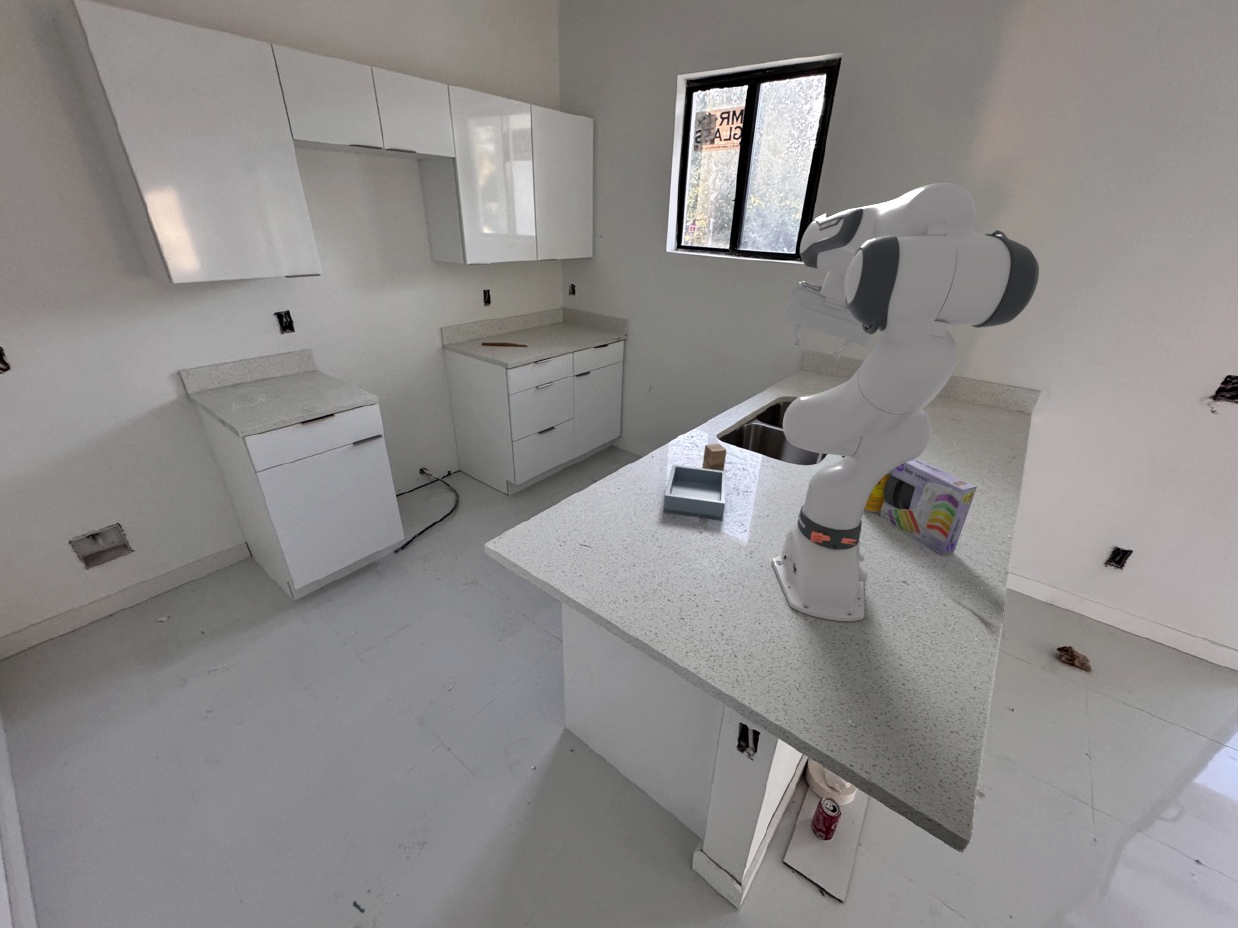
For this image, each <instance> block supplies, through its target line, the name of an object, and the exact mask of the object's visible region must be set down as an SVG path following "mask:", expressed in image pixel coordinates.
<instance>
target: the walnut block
mask: <svg viewBox="0 0 1238 928" xmlns="http://www.w3.org/2000/svg"><path fill="white" fill-rule="evenodd" d="M726 456H727V449H726V448H725V447H724V446H723V445H721V443H713V444H704V453H703V459H702V468H703V469H711V470H719V471H725V465H726V464H725V463H726Z"/></svg>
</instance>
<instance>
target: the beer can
mask: <svg viewBox="0 0 1238 928" xmlns="http://www.w3.org/2000/svg"><path fill="white" fill-rule="evenodd" d="M892 471H893V470H892ZM892 471H890V472H889V473H888V474H886V475H885V476H884V477H883V478H882V479H881V480H880V481H879V482H878V483H877V485H876V486H875V487H874V489H873V490H872V492H871V494H870V496H869V499H868V501H867V503H866V506H865V509H864V511H865V512H867V513H872V514H876V513H878V512H879V511H880V512H881V511H882V508H883V504H884V501H885V500H884V489H885V485H886V482H887V480H888V479H889V477H890V476H891V475H892Z"/></svg>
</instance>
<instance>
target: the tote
mask: <svg viewBox="0 0 1238 928" xmlns="http://www.w3.org/2000/svg"><path fill="white" fill-rule="evenodd" d="M668 478H669V479H668V480H667V481H668V482H667V485H666V489H665V494H664V501H663V511H662V512H663V513H666V514H673V515H681V516H682V515H683V516H689V517H695V518H703V519H709V520H717V521H723V520H724V519H723V518H724V512H725V505H726V488H727V487H726V485H727V471H725V470H724V471H719V470H711V469H703V468H701V467H694V466H685V465H679V464H678V465H677V464H672V466H671V470H670V474H669V477H668Z"/></svg>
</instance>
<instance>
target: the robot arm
mask: <svg viewBox="0 0 1238 928" xmlns="http://www.w3.org/2000/svg"><path fill="white" fill-rule="evenodd" d="M976 214H977V208H976V203H975V201H974V198H973V196H972V195H971V193H970V192H969V191H968V190H967V189H966V188H964V187H962V186H961V185H960V184H955V183H951V182H939V183H938V182H937V183H930V184H927V185H923V186H920V187H917V188H915V189H912V190H910V191H908V192H906V193H904V194H903V195H901V196H899V197H897V198H894V199H892V200H888V201H886V202H880V203H877V204H876V203H875V204H870V205H866V206H862V207H861V206H860V207H854V208H849V209H847V210H843V211H840V212H838V213H836V214H833V215H832V214H829V213H824V214H822V215H819V216H818V217H816V218H814V220H812V221H811V222H810V224H809V225H808V226H807V228H806V230H805V232H804V233H803V235H802V238H801V241H800V246H799V256H800V258H801V260H802V262H803V264H804V266H805V267H809V268H812V269H813V268H814V269H817V270H818V269H819V270H823V271H827V273H826V276H825V278H824V281H823V282H822V285H818V284H815V283H810V282H808V281H800V282H797V283H795V284H794V285H793V286H792V289H791V291H790V300H789V301H788V303H787V305H786V306H785V310H784V311H783V314H782V318H783V320H784V321H786V322H789V323H792V324H794V327H793V332H794V337H795V338H794V340H793V343H792V345H794V346H796V347H800V345H801V342H802V340H803V338H802V337H800V333H799V332H800V331H801V330H802V328H803V327H804V328H808V329H811V330H813V331H816V332H820V333H823V334H826V335H829V336H831V337H835V338H839V339H842V340H845V341H844V343H843V345H844V346H843V347H842V348H841V349H840V350H838V349H835V350H834V352H833V355H831V358H832V359H835V360H839V359H840V357H841V355H842V353H844V352H845V351H846V350H848V349H849V348H850V347H851V345H852V343H853V344H857V345H859V346H863V347H865V346H868V345H869V344H870V343H871V341H872V338H873V337H874V334H875V333H876V332H878V330H879V335H878V336H879V337H878V341H877V342H876V345H875V346H874V348H873V349H872V351H871V352H870V353H869V354H868V355H867V356H866V358H865V359H864V360H863V361H862V363H861V365H860V366H859V367H858V368H857V370H856V371H855V373H854V374H853V375H852V376H851V377H850V379H848V380H847V381H845V382H843V383H841V384H839V385H837V386H835V387H832V388H830V389H827V390H825V391H822V392H818V393H814V394H810V395H802V396H798V397H797V398H796V399H794V400H793V401H792V402H791V403H790V404H789V406H788V407H787V409H786V411H785V412H784V415H783V421H782V429H783V434H784V436H785V438H786V440H787V441H788V443H789V444H790V445H791V446H793V447H796V448H799V449H801V450H805V451H808V452H812V453H815V454H816V453H817V454H824V455H834V456H842V457H843V456H844V457H843V458H842V459H840V460H839V461H837V462H835V463H833V464H829V465H827V466H823V467H821V468H819V469H818V470H817V471H815V473H814V474H812V476H811V478H810V480H809V483H808V485H807V491H806V494H805V495H806V496H805V499H804V503H803V505H802V506H801V507H800V508H801V509H800V510H799V513H798V517H797V518H798V519H797V524H796V526H794V527H792V528H791V529H790V530H789V531H787V533H786V537H785V540H784V544H783V547H782V550H781V554H780V555H777V556H774V557H773V558H772V560H771V565H772V567H773V570H774V573H775V574H776V576H777V579H778V581H779V583H780V585H781V588H782V591H783V593H784V596H785V599H786V600H787V602H788V603H787V604H788V605H789V606H790V607H791V609H794V610H796V611H798V612H800V613H803V614H805V615H807V616H811V617H816V618H819V619H825V620H831V621H839V622H856V621H861V620H863V619H864V617H865V592H864V590H865V588H864V583H866V582H867V580H868V571H866V570H863V569H861V567H860V562H864V561H865V560H864V559H865V555H864V554H861V551H860V550H861V548H860V547H861V544H862V542H861V541H860V537H861V534H862V526H863V524H862V523H863V522H862V518H863V515H864V509H865V506H866V503H867V501H868V499H869V496H870V494H871V492H872V490H873V489H874V487H875V486H876V485H877V483H878V482H879V481H880V480H881V479H882V478H883V477H884V476H885V475H886V474H888V473H889V472H890V471H892V470H893V469H894V468H896V467H898V466H899V465H901V464H903V463H905V462H908V461H910V460H913V459H915V458H917V459H918V457H920V456H921V455H922V454H923V453H924V452H925V451H926V450H927V448H928V447H929V445H930V444H931V443H930V442H931V440H932V438H933V427H932V422H931V419H930V417H929V416H928V414H927V412H926V411H925V410H924V408H925V407H926V406H927V405H929V403H931V402H932V400H934V399H935V397H937V395H938V394H939V393H940V392H941V390H942V389H943V388H944V387H945V386H946V384H947V383H948V381H949V380H950V378H951V377H952V375H953V373H954V371H955V369H956V368H957V364H958V362H959V358H960V356H959V355H960V351H959V346H958V343H957V340H956V339H955V337H954V335H952V334H951V332H949V330H948V327H966V326H968V327H969V326H971V327H973V328H975V329H976V328H989V327H995V326H1001V325H1005V324H1008V323H1010V322H1012V321H1013V320H1014V319H1016V318H1017V317H1018V316H1019V315H1020V314H1021V313H1023V311H1024V310H1025V309H1026V308H1027V306H1028V305H1029V304H1030V301H1031V299H1032V298H1033V296H1034V294H1035V292H1036V288H1037V286H1038V282H1039V275H1040V267H1039V266H1040V265H1039V262H1038V260H1037V258H1036V257H1035V255H1034V254H1033V252H1032V250H1031V249H1030V248H1029V247H1027V246H1026V245H1024V244H1022V243H1019V242H1018V241H1016V240H1012V239H1010V238H1009V237H1008V236H1007V235H1006V234H1005V233H1004V231H1001V230H1000V229H995V230H994V231H993V232H992V233H991V234H990V233H989V234H988V233H986V234H983V233H981V232H978V231H976V230H975V222H976V217H977V215H976Z"/></svg>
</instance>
